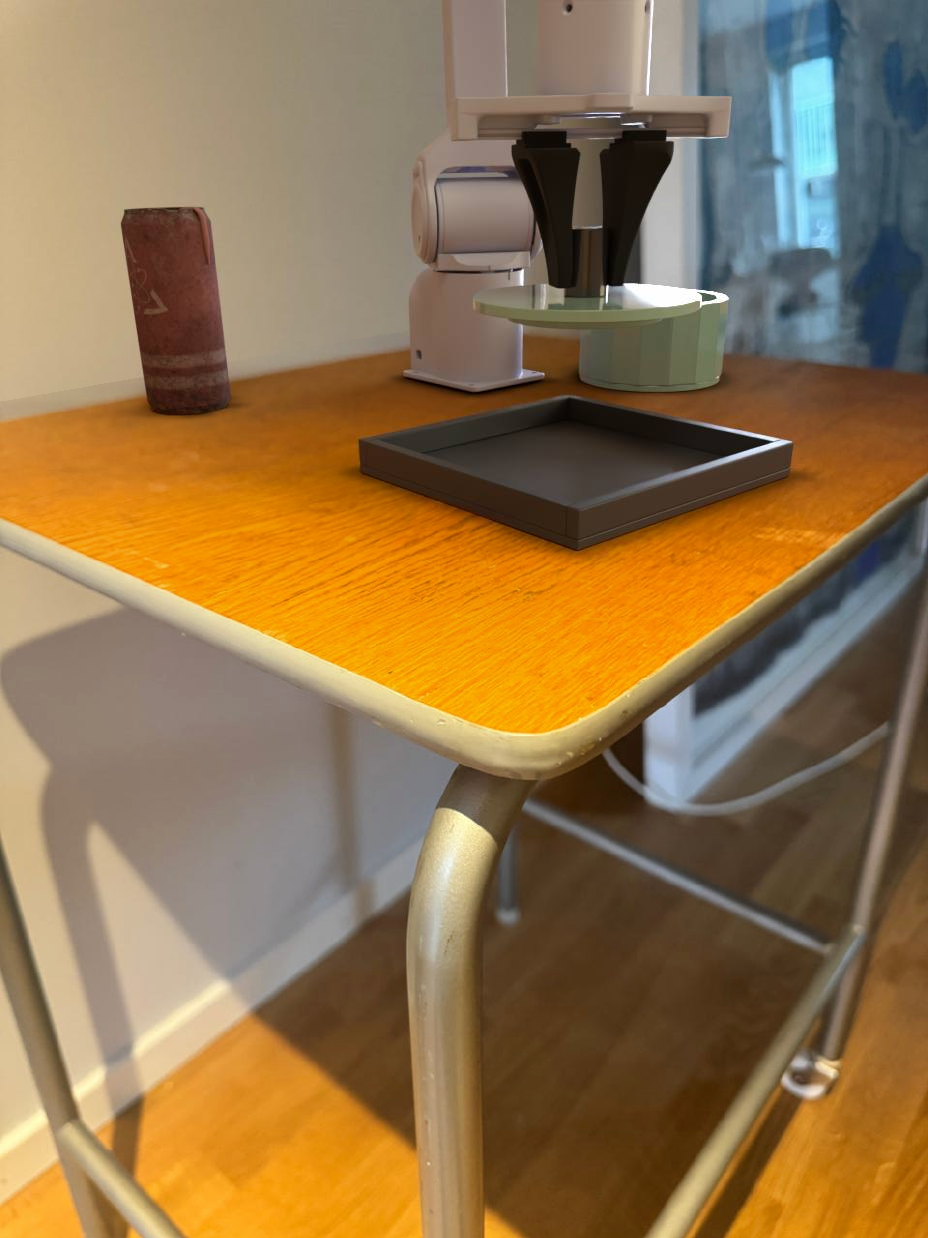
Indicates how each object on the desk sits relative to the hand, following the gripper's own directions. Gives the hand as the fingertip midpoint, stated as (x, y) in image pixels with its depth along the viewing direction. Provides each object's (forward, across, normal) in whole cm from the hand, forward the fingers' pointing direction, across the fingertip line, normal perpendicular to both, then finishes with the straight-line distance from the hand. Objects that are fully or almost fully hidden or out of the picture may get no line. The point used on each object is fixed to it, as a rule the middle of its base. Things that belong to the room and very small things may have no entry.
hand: (585, 285), depth 54 cm
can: (+10, -24, +22) cm, 34 cm away
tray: (+10, -1, -2) cm, 10 cm away
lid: (+1, 0, 0) cm, 1 cm away
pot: (+10, +13, +24) cm, 29 cm away
